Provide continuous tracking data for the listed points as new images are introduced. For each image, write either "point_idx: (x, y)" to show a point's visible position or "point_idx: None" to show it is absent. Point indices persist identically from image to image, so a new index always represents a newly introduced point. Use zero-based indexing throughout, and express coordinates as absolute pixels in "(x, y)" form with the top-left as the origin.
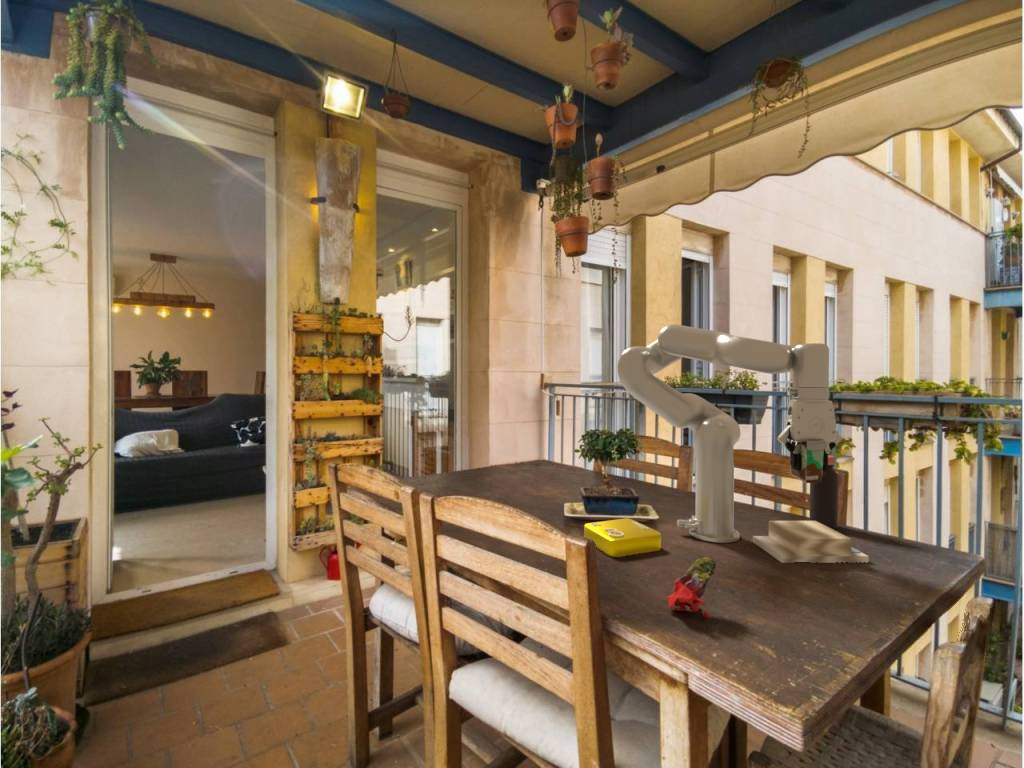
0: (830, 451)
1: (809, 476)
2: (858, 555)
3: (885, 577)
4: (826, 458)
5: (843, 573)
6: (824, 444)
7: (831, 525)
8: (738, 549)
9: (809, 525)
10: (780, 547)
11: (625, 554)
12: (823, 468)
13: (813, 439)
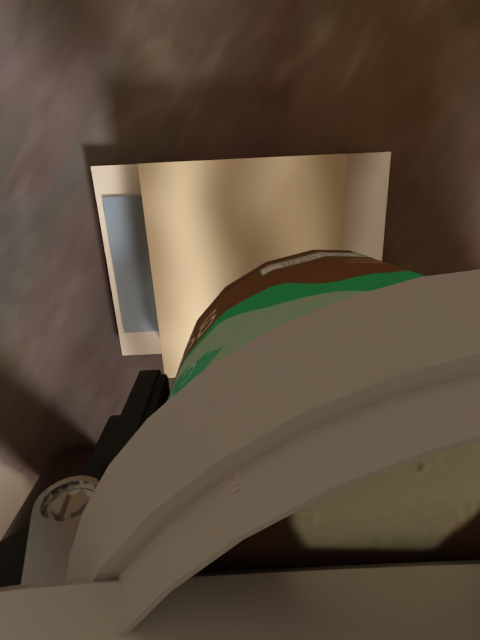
0: (39, 501)
1: (342, 254)
2: (122, 172)
3: (108, 25)
4: (121, 430)
5: (231, 58)
6: (184, 451)
7: (69, 455)
8: (451, 268)
9: None
10: (345, 239)
11: None
12: (164, 380)
13: (388, 611)
